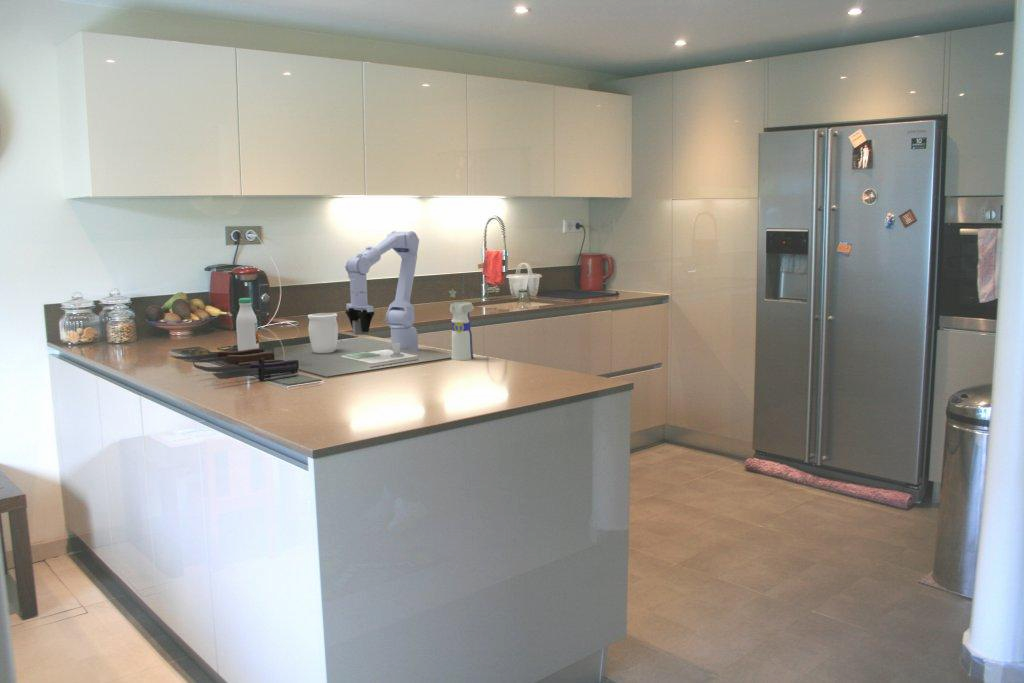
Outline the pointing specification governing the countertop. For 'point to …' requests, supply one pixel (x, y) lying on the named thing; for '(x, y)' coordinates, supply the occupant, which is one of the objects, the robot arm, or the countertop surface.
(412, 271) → the robot arm
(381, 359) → the mount board
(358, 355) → the pad
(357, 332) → the gray handled box
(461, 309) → the white spray bottle
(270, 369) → the knife set
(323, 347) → the jar
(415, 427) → the countertop surface
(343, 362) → the countertop surface
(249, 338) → the milk bottle
